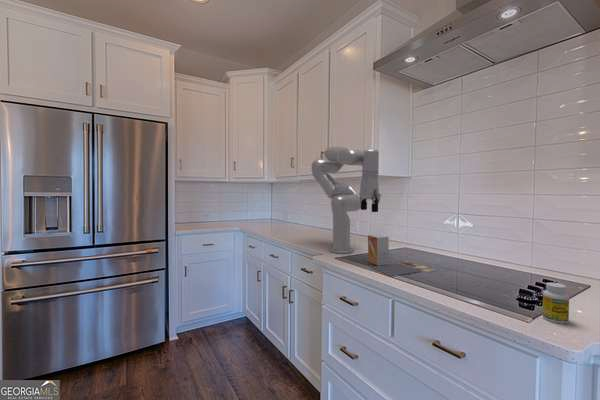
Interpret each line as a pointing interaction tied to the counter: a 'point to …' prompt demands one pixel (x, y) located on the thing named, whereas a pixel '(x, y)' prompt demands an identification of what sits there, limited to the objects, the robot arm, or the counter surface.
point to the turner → (418, 266)
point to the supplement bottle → (556, 303)
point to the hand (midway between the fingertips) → (369, 210)
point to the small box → (378, 249)
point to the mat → (395, 269)
